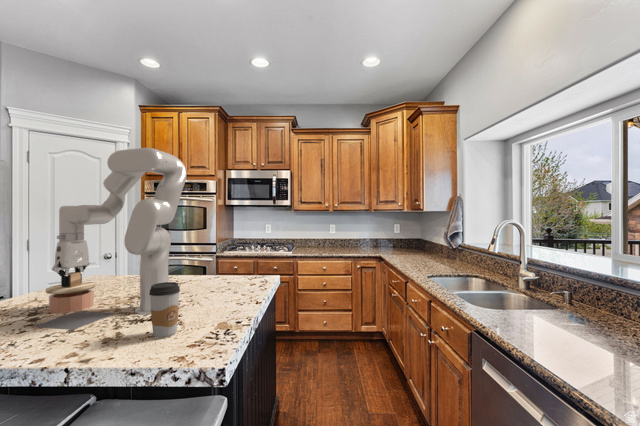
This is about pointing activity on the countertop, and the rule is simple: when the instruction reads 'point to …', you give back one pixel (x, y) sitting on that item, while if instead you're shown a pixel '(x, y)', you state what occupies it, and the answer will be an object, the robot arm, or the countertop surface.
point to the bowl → (71, 301)
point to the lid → (71, 285)
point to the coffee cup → (164, 308)
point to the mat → (74, 320)
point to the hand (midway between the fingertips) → (71, 284)
